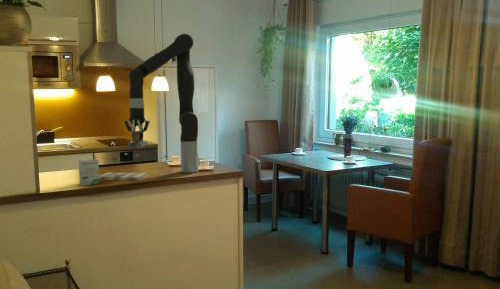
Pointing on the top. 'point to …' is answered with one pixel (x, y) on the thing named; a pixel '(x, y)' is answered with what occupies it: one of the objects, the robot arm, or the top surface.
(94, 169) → the ink box
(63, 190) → the top surface
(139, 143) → the sanding block
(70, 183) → the top surface
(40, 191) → the top surface
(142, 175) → the birch board
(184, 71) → the robot arm
